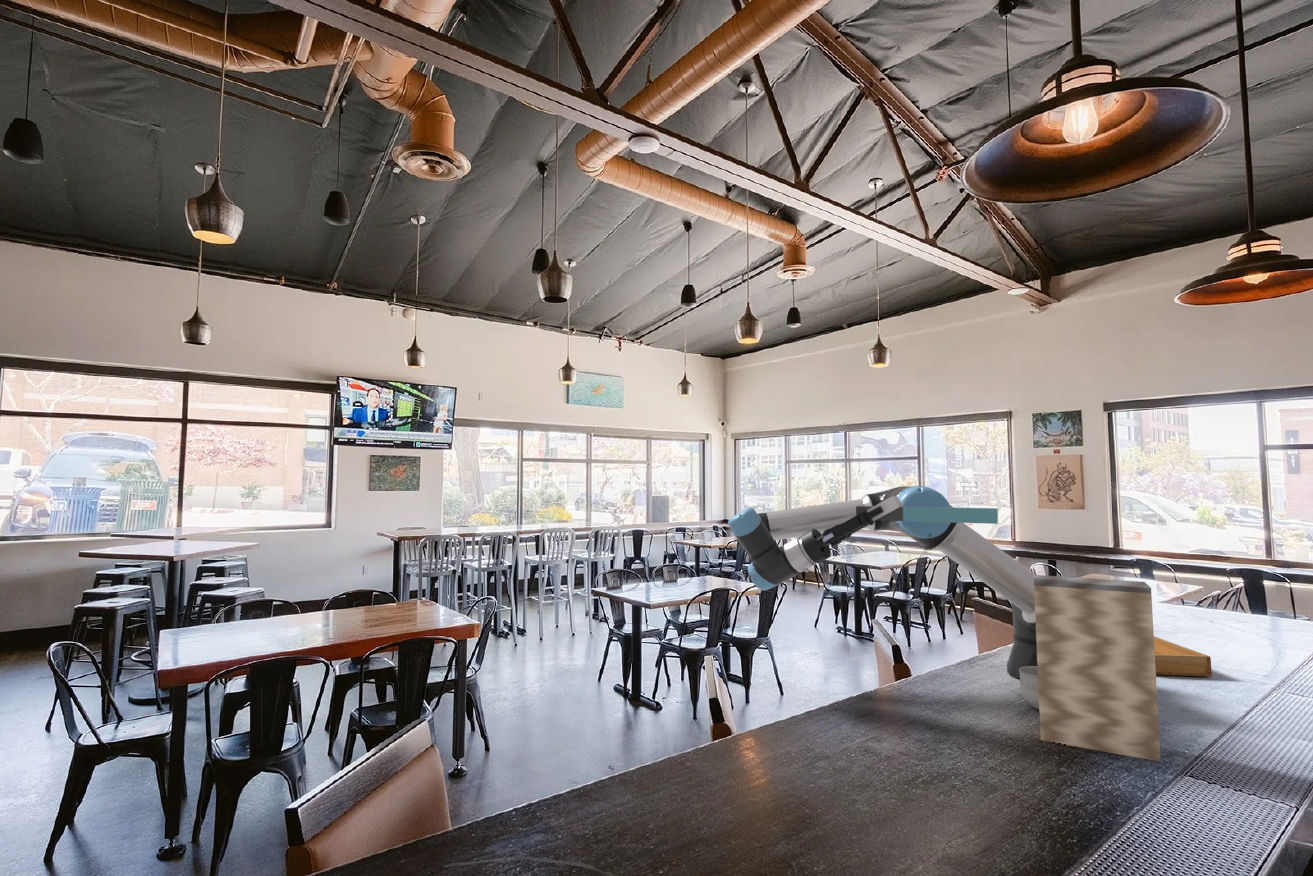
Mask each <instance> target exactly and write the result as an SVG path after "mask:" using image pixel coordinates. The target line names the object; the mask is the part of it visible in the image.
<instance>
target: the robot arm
mask: <svg viewBox="0 0 1313 876" xmlns="http://www.w3.org/2000/svg"><path fill="white" fill-rule="evenodd" d="M856 506H874V507H872V508H870V509H868V510H867V512H868V513H867V512H866V511H865V512H862V513H859V514H858V515H857V516H856ZM899 507H953V506H952V505H951V504H950V503H949V501H948V500H947V498H946V497H945V496H944V495H943V494H942V493H941V492H939V491H937V490H935V489H934V488H931V487H927V486H923V485H913V486H904V485H903V486H896V487H894V488H893V487H892V488H889V489H886V490H883V491H878V492H874V493H873V492H872V493H867V494H863V496H862V497H861V498H859V499H853V500H852V499H851V500H845V501H838V502H837V501H836V502H830V503H824V504H816V505H815V504H814V505H810V506H809V505H808V506H803V507H796V508H788V509H780V510H773V511H766V512H760V513H757V511H756V510H755V509H754V507H751V506H748V507H747V508H745V509H743V510H741V511H739V512H738V513H736V514H735V515H734V516H732V517H730V519H728V521H727V524H728V526H729V528H730V530H731V532H732V534H733V536H734V537H735V538H736V540H737V541H738V543H739V544H740V546H741V548H742V549H743V550H744V551H745V553H746V555H747V556H748V557H749V560H750V564H749V565H748V567H747V573H748V575H749V577H750V580H751V582H752V583H753V585H754V586H755V587H756V588H757V589H758V590H760V591H768V590H770V589H772V588H775V587H776V586H777V587H778V586H780V585H781V584H783V583H785V582H786V581H788V580H791V579H792V578H794V577H796V576H798V575H799V574H801V573H803V572H804V573H808V572H810V570H809V569H810V568H812V567H814V566H816V564H820V563H823V562H824V561H826V560H828V559H829V558H831V555H832V550H831V548H830V545H831V547H834V546H838V545H840V544H842V542H843V541H845V540H847V539H848V538H850V537H851V536H852V535H853V534H855V533H856V532H859V531H860V530H862V529H867V530H869V531H870V532H876V531H877V532H878V531H890V532H891V531H894V532H898V533H902V534H905V535H907V536H908V537H909V538H911V539H912V540H914V541H915V542H916V543H918V544H919V545H921V546H922V547H923V548H925V549H926V550H927V551H936V550H938V551H940V553H943V554H944V555H945V556H946V557H948V558H949V559H950V560H951V561H954V562H955V563H956V564H958V565H959V566H961V567H962V568H963V569H965V570H966V571H967V572H969V573H970V574H971V575H973V576H974V577H976V578H977V579H978V580H979V581H981V582H982V583H984V584H985V585H987V586H988V587H989V588H990V589H992V590H993V591H995V592H996V593H998V594H999V595H1001V596H1002V597H1003V598H1005V600H1007V601H1009V602H1010V603H1011V610H1012V611H1011V612H1012V613H1011V614H1012V629H1013V633H1012V635H1013V643H1012V647H1011V650H1010V653H1009V655H1008V659H1007V662H1006V672H1007V674H1008V673H1009V674H1010V675H1009V674H1008V675H1009V676H1011V675H1012V677H1013V676H1014V677H1013V678H1015V677H1016V679H1018V678H1020V672H1019V668H1021V667H1025V666H1038V665H1037V641H1036V618H1035V594H1034V575H1037V574H1036V573H1034V572H1033V571H1032V570H1030V569H1029V568H1027V567H1026V566H1024V565H1023V564H1022V563H1020V562H1019V561H1018V560H1016V559H1014V558H1013V557H1012V556H1010V554H1007V552H1005V551H1004V550H1003V549H1001V548H1000V547H998V546H997V545H995V544H994V543H993V542H991V541H990V540H988V539H987V538H986V537H984V536H983V535H982V534H980V533H979V532H978V531H975V529H973V528H972V527H970V526H969V525H968V524H967V523H952V522H917V521H882V520H877V519H879V518H880V517H882V516H884V515H886V514H888V513H890V512H892V511H893V510H895V509H897V508H899ZM871 519H872V520H871ZM792 538H793V539H792ZM785 539H792V540H789V541H788V542H786V543H785V544H784V545H782V546H779V545H778V542H776V541H779V540H785Z"/></svg>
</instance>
